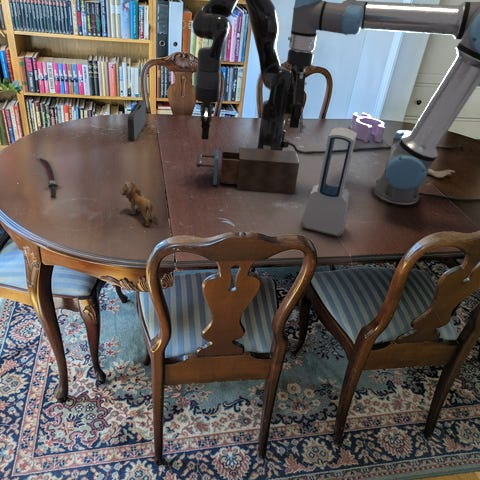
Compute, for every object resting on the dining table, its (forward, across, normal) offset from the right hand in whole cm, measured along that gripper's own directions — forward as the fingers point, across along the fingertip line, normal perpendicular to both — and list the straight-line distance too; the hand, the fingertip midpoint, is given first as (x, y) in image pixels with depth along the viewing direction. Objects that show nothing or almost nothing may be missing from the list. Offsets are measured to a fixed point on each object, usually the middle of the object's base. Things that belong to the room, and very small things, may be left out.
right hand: (291, 120), depth 149 cm
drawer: (+22, 0, -17) cm, 28 cm away
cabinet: (+23, 0, -6) cm, 24 cm away
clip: (+24, -61, +45) cm, 79 cm away
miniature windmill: (+23, -62, +11) cm, 67 cm away
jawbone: (+24, -26, +63) cm, 72 cm away
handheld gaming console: (+23, -41, -56) cm, 73 cm away
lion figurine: (+23, +27, -45) cm, 57 cm away
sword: (+23, +6, -78) cm, 81 cm away
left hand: (+8, 0, -27) cm, 28 cm away
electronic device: (+24, +27, +10) cm, 37 cm away
